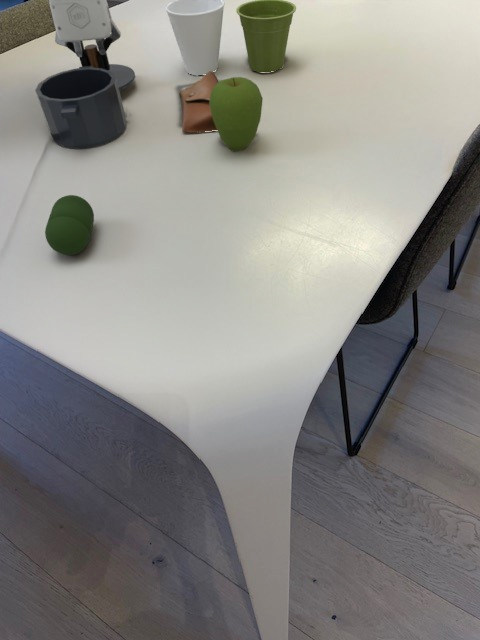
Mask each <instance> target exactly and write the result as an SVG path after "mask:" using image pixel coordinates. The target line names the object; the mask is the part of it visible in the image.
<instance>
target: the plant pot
mask: <svg viewBox="0 0 480 640" xmlns="http://www.w3.org/2000/svg"><path fill="white" fill-rule="evenodd" d="M296 10H297V6H296V4H294V3H292V2H291V1H287V0H252V1H246V2H243V3H242V4H240V5H238V6H237V8H236V10H235V12H236V14H237V15H238V16H239V20H240V25H241V27H242V31H243V32H242V33H243V37H244V42H245V43H244V44H245V48H246V55H247V60H248V65H249V69H250V70H251V71H252V70H254V72H257V73H258V72H271V71H275V70H277V71H279V70H281V69H280V68H282V67H283V68H284V63H285V59H286V58H285V57H286V51H287V45H288V40H289V33H290V28H291V25H292V23H293V22H292V21H293V17H294V14H295V12H296ZM283 68H282V69H283ZM278 69H279V70H278Z"/></svg>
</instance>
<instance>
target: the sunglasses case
mask: <svg viewBox="0 0 480 640" xmlns="http://www.w3.org/2000/svg"><path fill="white" fill-rule="evenodd" d="M218 82H219V79H218V77H217V74H215V72H214V73H213V72H212V71H209V72H208V73H207V74H206V75H204V76H201V78H200V79H199V80H197V81H196V82H194V83H192V84H190V85H189V86H186V88H184V89H182V90H181V91H179V93H178V94H179V97H180V101H181V110H182V122H181V123H182V124H181V129H182V130H181V131H182V132H183V133H186V134H200V133H199V132H205V131H212V130H217V128H216V126H215V123H214V121H213V117H212V113H211V109H210V105H209V101H210V95H211V91H212V89H213V87H214V86H215V85H216V84H217V83H218ZM197 132H198V133H197Z"/></svg>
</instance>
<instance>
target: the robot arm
mask: <svg viewBox="0 0 480 640" xmlns="http://www.w3.org/2000/svg"><path fill="white" fill-rule="evenodd" d="M48 3H49V7H50V12H51V16H52V21H53V25H54V28H55V36H54V42H55V44H56V45H58V46H59V45H60V46H62V47H65V48H67V49H69V50H70V51H71V52H73V54H75V56H76V57H77V58H79V61H80V65H81V67H85V66H89V62H88V59H87V55H86V51H85V45H84V42H85V41H95V44H96V45H97V48H98V53H99V54H98V60H99V64H100V68H102V69H105V70H110V65H109V64H110V61H109V58H108V53H107V51H108V50H109V48H110V47H111V45H112V44H113V43H114V42H116V41H118V40H119V39H120V38H121V36H122V32H121V31H120V29H119V28H118V26H117V25H116V23H115V22H114V20H113V18H112V15H111V11H110V7H109V4H108V0H48Z"/></svg>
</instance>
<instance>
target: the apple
mask: <svg viewBox="0 0 480 640" xmlns="http://www.w3.org/2000/svg"><path fill="white" fill-rule="evenodd" d="M263 99H264V98H263V96H262V93H261V91H260V89H259V86H258V85H257V84H256V83H255V82H254V81H252V80H251V79H249V78H247V77H243V76H233V77H229V78H225V79H222V80H219V81H218V83H217V84H216V85H215V86H214V87H213V89H212V91H211V95H210V101H209V105H210V109H211V113H212V117H213V121H214V123H215V126H216V128H217V130H218V132H217V134H218V135H219V137H220V140H221V141H222V142H223V144H224V145H226V147H227V148H228V149H229V150H231V151H232V150H233V151H232V152H239V151H243V150H244V149H246V148H247V147H248V146H249V145H250V144H251V142H252V141H254V139H255V137H256V134H257V131H258V128H259V125H260V122H261V118H262V109H263V101H264V100H263Z"/></svg>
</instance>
